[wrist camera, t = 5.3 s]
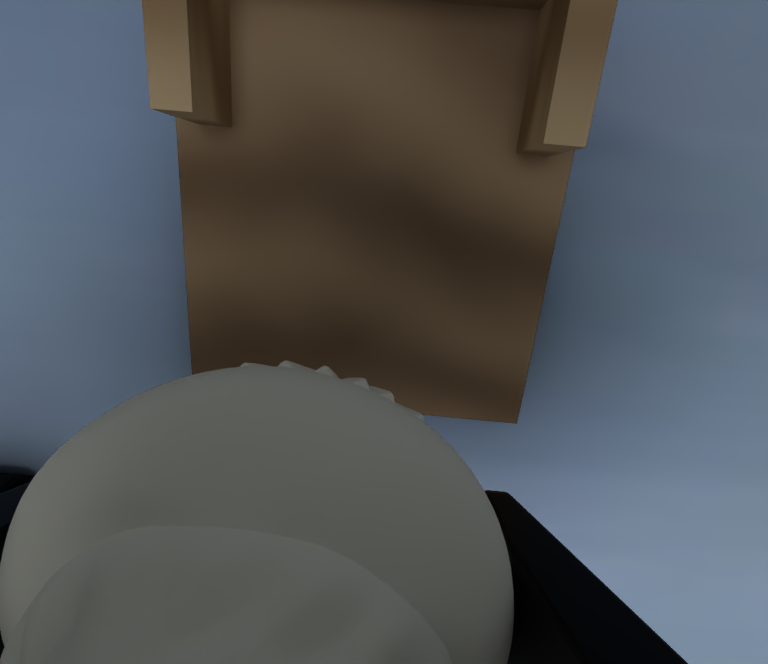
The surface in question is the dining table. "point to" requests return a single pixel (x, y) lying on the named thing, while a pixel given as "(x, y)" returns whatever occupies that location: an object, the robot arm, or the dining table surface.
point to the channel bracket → (376, 182)
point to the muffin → (256, 533)
